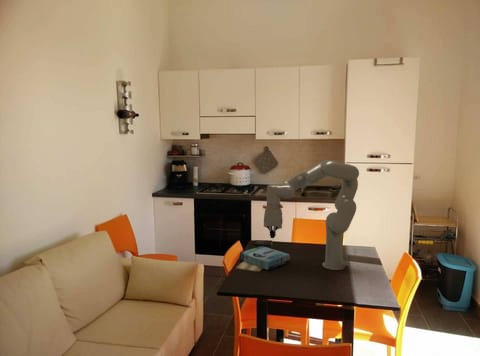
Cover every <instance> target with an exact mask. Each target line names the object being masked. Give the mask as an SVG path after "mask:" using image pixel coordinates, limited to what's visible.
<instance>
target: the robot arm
mask: <svg viewBox="0 0 480 356" xmlns="http://www.w3.org/2000/svg"><path fill="white" fill-rule="evenodd" d="M359 176H360V170H359V169H358V168H357V166H355V165H352V164H348V163H341V162H336V161H334V160H329V159H325V160H322V161H320V162H319V163H318V164H315V165H314V166H313V167H311V168H309V169H307V170H305V171H304V172H301V173H299V174H297V175H295V176H293V177H291V178H290V179H288V180H286V181H284V182H283V183H281V185H279V184H276V183H274V184H273V183H270V184H268V185H267V186H266V207H265V209H264V213H263V216H264V217H263V227H264V228H267V229H268V232H269V236H270V237H269V238H270V239H274V238H275V237H276V235H277V234H276V231H277V230H279V229H282V228H283V222H284V221H283V211H282V208H283V205H282V204H281V199H291V198H293V197H294V196H295V195H296V194H295V192H296V191H297V190H299V189H300V188H303V187H308V186H312V185H315V184H317V183H318V182H320V181H321V180H323V179H325V178H327V177H328V178H334V179H338V180H341V181H342V184H341V187H340V189H339V193H338V195H337V197H336V199H335V201H334V207H335V209H336V212H335V211H334V212H330V213H329V214H328V215H327V216H326V219H325V230H326V231H325V233H326V234H325V235H326V236H325V257H324V259H325V261H323V262H322V264H321V265H322V267H323V268H324V269H327V270H331V271H341V270H344V269H345V268H346V267H351V262H349V261H347V260H346V261H345V260H344V258H343V253H344V252H343V251H344V250H343V247H344V246H343V245H344V233H346V232H347V231H348V230H349V228H350V226H351V224H352V221H353V220H354V217H355V215H356V211H357V203H356V202H355V201H354V199H355V196H356V194H357V191H358V187H359V181H358V178H359Z"/></svg>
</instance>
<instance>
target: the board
mask: <svg viewBox="0 0 480 356" xmlns="http://www.w3.org/2000/svg"><path fill="white" fill-rule="evenodd" d="M235 269H236V270H244V271H249V272H255V273H256V272H257V273H260V272H261V271H262V270H263V269H264V268H261V267H258V266H256V265H253V264H250V263H248V262H245V261H242V262H241V263H239V264H238V265H237V266H236V267H235Z"/></svg>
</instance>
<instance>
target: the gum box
mask: <svg viewBox="0 0 480 356" xmlns="http://www.w3.org/2000/svg"><path fill="white" fill-rule="evenodd" d="M239 260H240V261H242V262H243V261H245V262H248V263H250V264H253V265H256V266H258V267H261V268H263V269H265V270H267V271H270V270H272V269H275V268H277V267H280V266H283V265H286V264H288V263H290V261H291V255H290V253H286V252H283V251H279V250H278V249H277V250H276V249H274V248H273V249H272V248H269V247H266V246H263V245H259V246H257V247H254V248H250V249H247V250H244V251H240V252H239Z"/></svg>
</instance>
